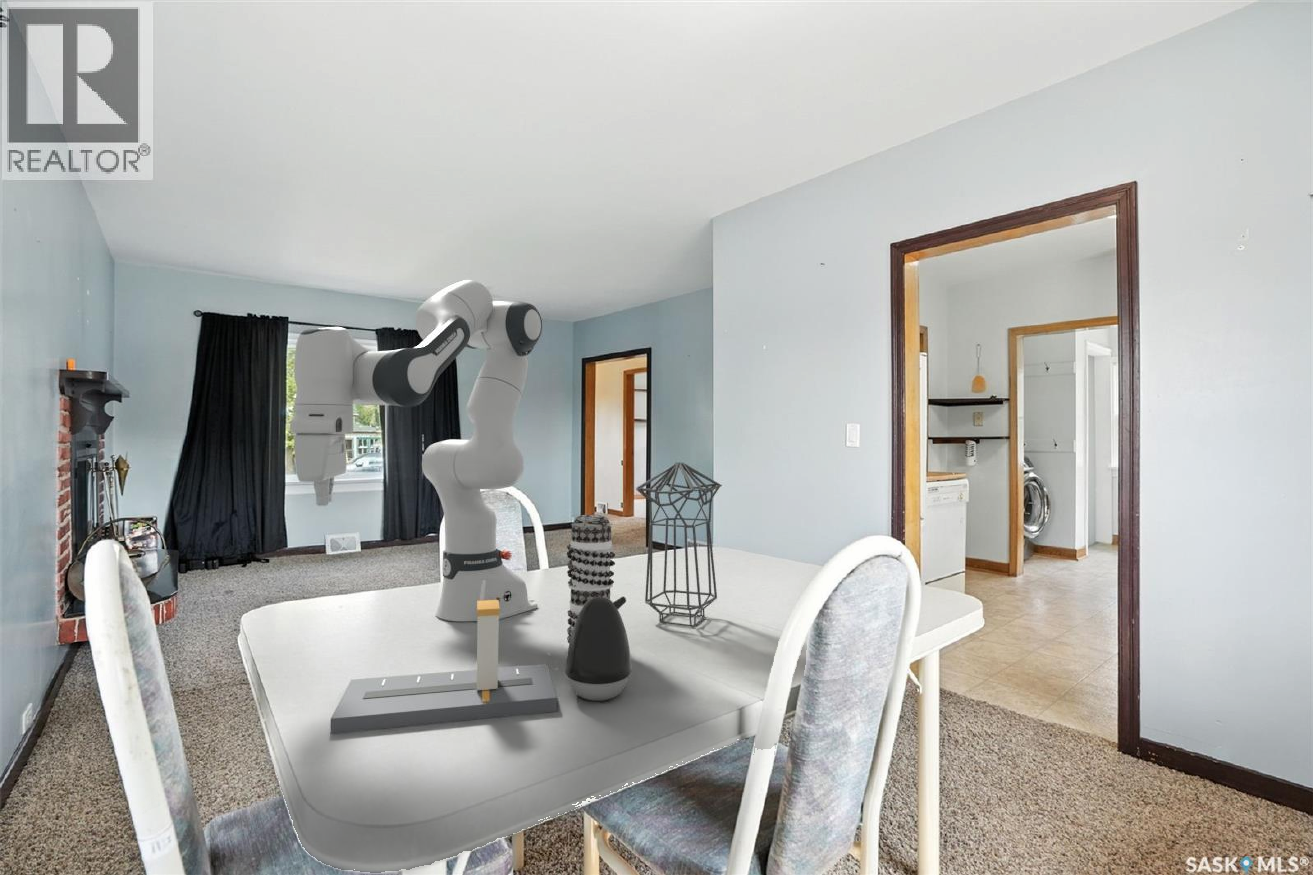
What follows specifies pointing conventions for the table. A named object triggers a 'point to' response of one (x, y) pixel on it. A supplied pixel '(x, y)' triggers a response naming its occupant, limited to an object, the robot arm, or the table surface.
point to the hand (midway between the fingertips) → (324, 504)
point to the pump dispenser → (599, 651)
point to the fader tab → (487, 644)
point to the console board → (442, 698)
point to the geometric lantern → (667, 478)
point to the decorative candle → (589, 563)
